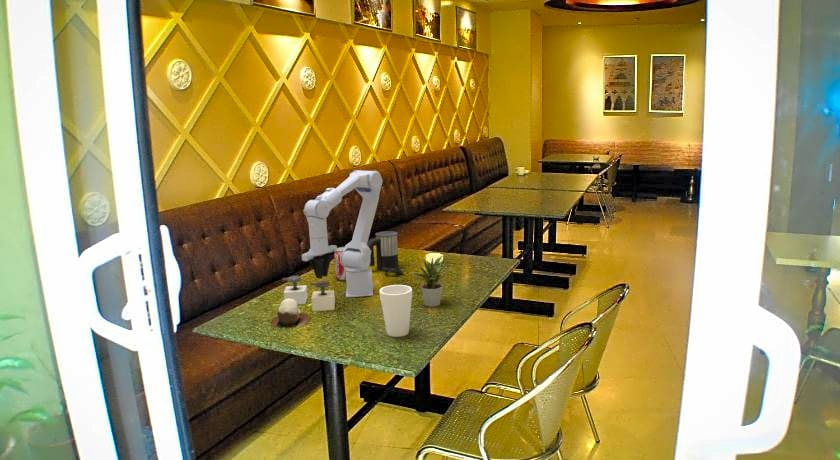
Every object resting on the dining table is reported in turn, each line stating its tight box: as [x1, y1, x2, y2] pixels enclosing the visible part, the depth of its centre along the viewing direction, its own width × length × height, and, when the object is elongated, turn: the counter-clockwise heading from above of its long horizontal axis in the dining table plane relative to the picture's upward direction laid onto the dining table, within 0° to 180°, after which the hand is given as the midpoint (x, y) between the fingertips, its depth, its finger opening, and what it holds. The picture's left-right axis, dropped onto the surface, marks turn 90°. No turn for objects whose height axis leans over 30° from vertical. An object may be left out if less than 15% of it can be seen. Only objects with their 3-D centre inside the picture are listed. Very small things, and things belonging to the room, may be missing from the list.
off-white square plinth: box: [310, 289, 336, 312], centre depth 189 cm, size 7×7×4 cm
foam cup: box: [379, 284, 413, 338], centre depth 164 cm, size 10×9×13 cm
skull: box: [270, 299, 311, 329], centre depth 177 cm, size 12×10×10 cm
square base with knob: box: [283, 284, 309, 305], centre depth 196 cm, size 7×7×4 cm
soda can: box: [333, 246, 346, 282], centre depth 220 cm, size 7×7×12 cm
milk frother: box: [367, 230, 404, 275], centre depth 228 cm, size 14×16×15 cm
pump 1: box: [281, 275, 302, 290], centre depth 195 cm, size 6×5×4 cm
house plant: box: [408, 255, 450, 307], centre depth 188 cm, size 14×14×16 cm
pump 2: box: [309, 280, 330, 295], centre depth 188 cm, size 6×5×4 cm
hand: (321, 277), depth 187 cm, fingers closed
